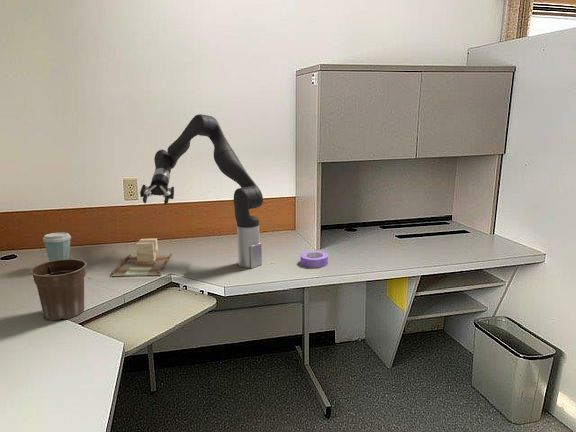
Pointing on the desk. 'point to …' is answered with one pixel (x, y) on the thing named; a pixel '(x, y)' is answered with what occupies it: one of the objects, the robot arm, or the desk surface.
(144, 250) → the block
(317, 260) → the masking tape
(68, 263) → the plant pot
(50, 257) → the disposable coffee cup
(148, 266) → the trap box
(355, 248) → the desk surface
